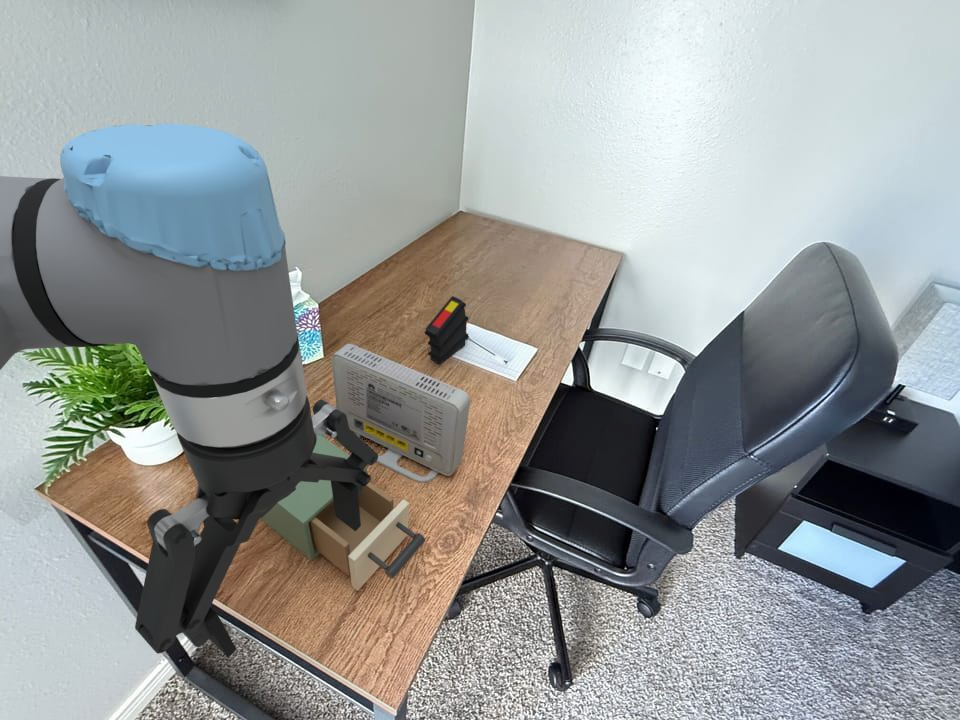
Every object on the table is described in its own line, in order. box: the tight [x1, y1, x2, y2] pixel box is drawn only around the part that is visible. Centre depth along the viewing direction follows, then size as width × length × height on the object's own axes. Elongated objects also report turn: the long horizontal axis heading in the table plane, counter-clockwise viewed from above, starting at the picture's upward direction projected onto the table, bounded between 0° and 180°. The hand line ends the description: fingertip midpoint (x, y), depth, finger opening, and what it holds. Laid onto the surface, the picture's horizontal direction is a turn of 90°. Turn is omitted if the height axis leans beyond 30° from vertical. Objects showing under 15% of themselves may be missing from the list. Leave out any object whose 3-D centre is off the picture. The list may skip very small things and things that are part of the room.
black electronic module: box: [424, 295, 469, 365], centre depth 112 cm, size 4×13×15 cm, turn 146°
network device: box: [330, 343, 471, 484], centre depth 84 cm, size 26×9×20 cm, turn 65°
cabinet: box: [259, 435, 369, 562], centre depth 75 cm, size 15×13×11 cm
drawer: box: [308, 481, 426, 592], centre depth 71 cm, size 18×11×9 cm, turn 57°
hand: (292, 575), depth 42 cm, fingers open, 13 cm apart
